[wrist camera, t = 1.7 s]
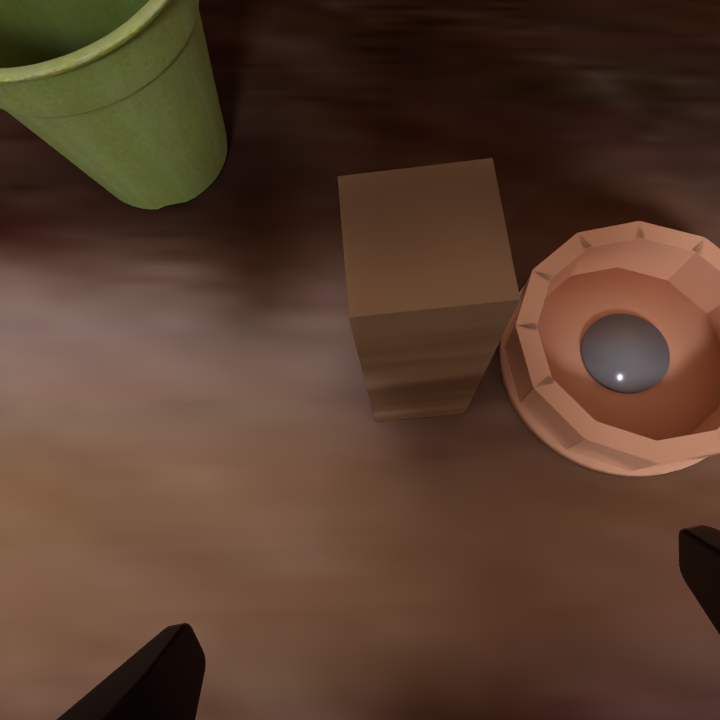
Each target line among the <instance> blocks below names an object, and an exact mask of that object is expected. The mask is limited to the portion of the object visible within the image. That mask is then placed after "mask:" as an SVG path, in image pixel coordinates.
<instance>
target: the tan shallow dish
mask: <svg viewBox="0 0 720 720" xmlns="http://www.w3.org/2000/svg"><path fill="white" fill-rule="evenodd" d="M519 295H520V301H519V303H518V305H517V307H516V309H515V311H514V313H513V315H512V317H511V320H510V322H509V324H508V326H507V328H506V330H505V332H504V334H503V336H502V338H501V340H500V342H499V352H498V353H499V368H500V373H501V378H502V382H503V385H504V388H505V391H506V394H507V396H508V398H509V400H510V402H511V404H512V406H513V408H514V410H515V411H516V413H517V414H518V416H519V417H520V419H521V420H522V422H523V423H524V424H525V425H526V426H527V428H528V429H529V430H530V431H531V432H532V433H533V434H534V435H535V436H536V437H537V438H538V439H539V440H540V441H541V442H542V443H543V444H544V445H546V446H547V447H548V448H550V449H551V450H553V451H554V452H555V453H557V454H558V455H560V456H562V457H563V458H565V459H567V460H569V461H571V462H572V463H574V464H577V465H579V466H582V467H584V468H587V469H589V470H592V471H596V472H600V473H603V474H607V475H614V476H621V477H646V476H655V475H660V474H664V473H668V472H672V471H676V470H680V469H683V468H686V467H688V466H691V465H693V464H696V463H698V462H699V461H701V460H703V459H704V458H706V457H708V456H712V455H716V454H720V249H719V248H718V247H717V246H715V245H714V244H713V243H711V242H710V241H709V240H708V239H706V238H705V237H701V236H697V235H693V234H689V233H685V232H681V231H677V230H673V229H670V228H666V227H662V226H658V225H654V224H650V223H646V222H642V221H636V222H631V223H625V224H620V225H615V226H610V227H604V228H599V229H594V230H589V231H583V232H578V233H576V234H575V235H574V236H573V237H571V238H570V239H569V240H568V241H567V242H565V243H564V244H563V245H562V246H561V247H559V248H558V249H557V250H556V251H555V252H553V253H552V254H551V255H550V256H549V257H547V258H546V259H545V260H544V261H543V262H541V263H540V264H539V265H538V266H537V267H535V268H534V269H533V270H532V272H531V274H530V276H529V278H528V280H527V282H526V284H525V286H524V287H523V288H522V290H521V291H520V292H519Z"/></svg>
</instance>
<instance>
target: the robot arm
mask: <svg viewBox="0 0 720 720" xmlns="http://www.w3.org/2000/svg"><path fill="white" fill-rule="evenodd" d="M679 566H680V571H681V574H682V576H683V578H684V580H685V582H686V584H687V585H688V587H689V588H690V590H691V591H692V593H693V594H694V596H695V597H696V599H697V601H698V602H699V604H700V605H701V607H702V608H703V610H704V611H705V613H706V614H707V616H708V617H709V619H710V621H711V622H712V624H713V625H714V627H715V628H716V630H717V631H718V633H719V634H720V530H718V529H715V528H712V527H709V526H705V525H699V526H693V527H688V528H683V529H682V530H680V532H679ZM204 672H205V655H204V652H203V650H202V648H201V646H200V643H199V641H198V639H197V637H196V635H195V633H194V631H193V629H192V627H191V626H190V625H189V624H187V623H183V624H177V625H172V626H168V627H167V628H165V629H164V630H163V631H161V632H160V633H159V634H158V635H157V636H155V637H154V638H153V639H152V640H151V641H150V642H148V643H147V644H146V645H145V646H144V647H142V648H141V649H140V650H139V651H138V652H136V653H135V654H134V655H133V656H132V657H130V658H129V659H128V660H127V661H126V662H125V663H123V664H122V665H121V666H120V667H119V668H117V669H116V670H115V671H114V672H113V673H111V674H110V675H109V676H108V677H107V678H106V679H104V680H103V681H102V682H101V683H100V684H98V685H97V686H96V687H95V688H94V689H92V690H91V691H90V692H89V693H88V694H86V695H85V696H84V697H83V698H82V699H81V700H79V701H78V702H77V703H76V704H75V705H73V706H72V707H71V708H70V709H69V710H67V711H66V712H65V713H64V714H63V715H62V716H60V717H59V718H58V719H57V720H195V718H196V713H197V708H198V703H199V698H200V693H201V688H202V682H203V677H204Z"/></svg>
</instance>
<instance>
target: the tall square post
mask: <svg viewBox="0 0 720 720" xmlns="http://www.w3.org/2000/svg"><path fill="white" fill-rule="evenodd" d="M338 187H339V199H340V212H341V225H342V238H343V250H344V263H345V276H346V288H347V301H348V314H349V320H350V324H351V328H352V332H353V336H354V340H355V344H356V347H357V351H358V355H359V359H360V363H361V367H362V371H363V375H364V379H365V382H366V386H367V390H368V394H369V398H370V402H371V406H372V410H373V414H374V417H375V421H376V422H381V421H392V420H402V419H413V418H423V417H434V416H444V415H455V414H465V412H466V410H467V408H468V406H469V404H470V402H471V400H472V398H473V396H474V393H475V391H476V389H477V387H478V385H479V383H480V381H481V379H482V377H483V375H484V373H485V371H486V369H487V367H488V365H489V363H490V361H491V359H492V357H493V354H494V352H495V350H496V348H497V346H498V344H499V342H500V340H501V338H502V336H503V334H504V332H505V330H506V328H507V326H508V324H509V322H510V320H511V317H512V315H513V313H514V311H515V309H516V307H517V305H518V303H519V301H520V295H519V290H518V285H517V280H516V275H515V270H514V265H513V260H512V255H511V249H510V244H509V239H508V234H507V229H506V224H505V219H504V214H503V209H502V203H501V198H500V193H499V188H498V183H497V178H496V173H495V168H494V163H493V158H487V159H479V160H470V161H462V162H454V163H445V164H437V165H429V166H420V167H412V168H404V169H395V170H387V171H379V172H370V173H362V174H354V175H345V176H338Z"/></svg>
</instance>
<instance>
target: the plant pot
mask: <svg viewBox="0 0 720 720" xmlns="http://www.w3.org/2000/svg"><path fill="white" fill-rule="evenodd" d="M0 108H1V109H3V110H6V111H7V112H8V113H10V114H11V115H12V116H13V117H15V118H16V119H17V120H19V121H20V122H21V123H22V124H24V125H25V126H26V127H28V128H29V129H30V130H31V131H33V132H34V133H35V134H37V135H38V136H39V137H40V138H42V139H43V140H44V141H45V142H47V143H48V144H49V145H51V146H52V147H53V148H54V149H56V150H57V151H58V152H59V153H61V154H62V155H63V156H65V157H66V158H67V159H68V160H70V161H71V162H72V163H73V164H75V165H76V166H77V167H78V168H80V169H81V170H82V171H84V172H85V173H86V174H87V175H89V176H90V177H91V178H92V179H94V180H95V181H96V182H98V183H99V184H100V185H101V186H103V187H104V188H105V189H106V190H108V191H109V192H110V193H112V194H113V195H114V196H115V197H117V198H118V199H119V200H121V201H123V202H124V203H127V204H129V205H131V206H134V207H138V208H143V209H159V208H162V207H164V206H167V205H172V204H177V203H183V202H187V201H189V200H191V199H193V198H195V197H196V196H198V195H199V194H201V193H202V192H203V191H204V190H206V189H207V188H208V187H209V186H210V185H211V184H212V183H213V181H214V180H215V179H216V178H217V176H218V175H219V173H220V171H221V169H222V167H223V165H224V162H225V159H226V156H227V136H226V131H225V126H224V121H223V117H222V112H221V108H220V104H219V99H218V95H217V90H216V86H215V81H214V77H213V72H212V68H211V63H210V58H209V54H208V49H207V44H206V40H205V35H204V31H203V26H202V21H201V17H200V12H199V0H0Z"/></svg>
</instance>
